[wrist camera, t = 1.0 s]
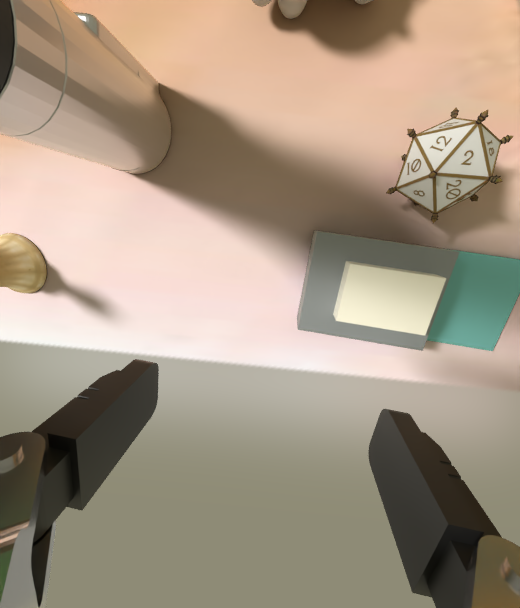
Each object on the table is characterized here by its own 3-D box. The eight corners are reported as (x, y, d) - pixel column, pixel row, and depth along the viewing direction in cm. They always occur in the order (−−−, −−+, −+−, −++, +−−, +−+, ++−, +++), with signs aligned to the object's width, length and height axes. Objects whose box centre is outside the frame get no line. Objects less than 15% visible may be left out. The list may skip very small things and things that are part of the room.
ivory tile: (345, 260, 27) (350, 263, 25) (435, 274, 26) (446, 278, 24) (333, 314, 29) (336, 320, 27) (416, 327, 28) (425, 335, 26)
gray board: (313, 230, 30) (317, 231, 26) (437, 247, 29) (459, 251, 25) (297, 317, 34) (297, 329, 30) (407, 335, 33) (422, 350, 29)
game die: (425, 183, 31) (517, 212, 24) (365, 212, 30) (443, 251, 23) (445, 88, 24) (579, 89, 17) (369, 121, 23) (480, 136, 16)
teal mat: (442, 248, 29) (444, 248, 29) (531, 261, 28) (534, 261, 28) (411, 336, 33) (412, 337, 32) (490, 349, 32) (492, 351, 32)
